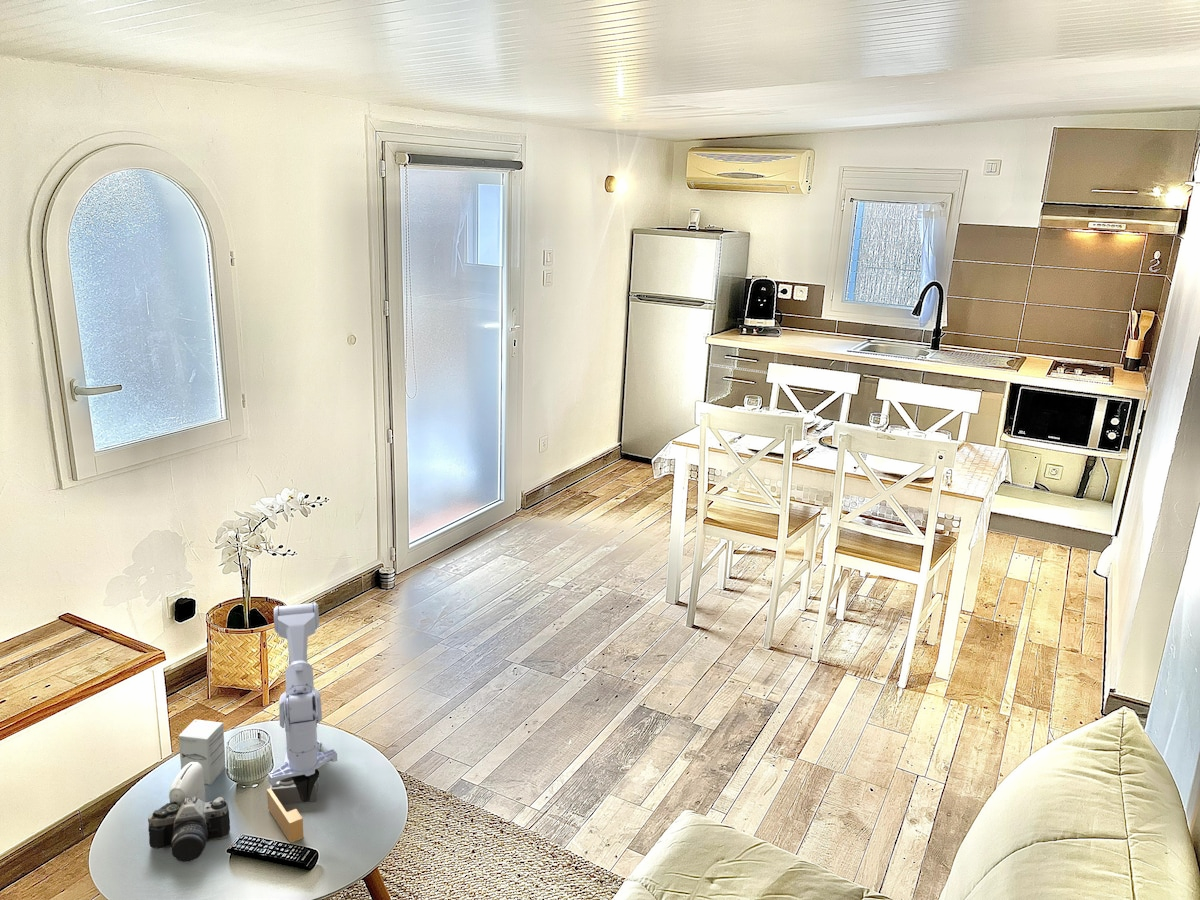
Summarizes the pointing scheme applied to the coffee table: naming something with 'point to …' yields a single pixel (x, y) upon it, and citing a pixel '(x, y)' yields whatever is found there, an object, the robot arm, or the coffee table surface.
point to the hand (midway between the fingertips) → (304, 799)
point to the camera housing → (291, 792)
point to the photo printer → (188, 784)
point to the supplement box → (204, 747)
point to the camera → (188, 826)
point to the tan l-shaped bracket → (285, 818)
